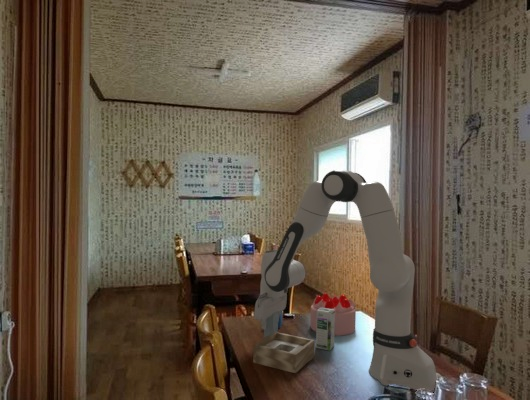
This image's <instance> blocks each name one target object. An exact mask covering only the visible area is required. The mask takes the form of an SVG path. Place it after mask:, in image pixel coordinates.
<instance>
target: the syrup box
mask: <svg viewBox="0 0 530 400" xmlns="http://www.w3.org/2000/svg"><path fill="white" fill-rule="evenodd" d="M334 330H335V309H328V308H319V309H318V310H317V323H316V332H315V333H316V334H315V338H316V339H315V349H320V350H326V351H328V352H329V351H331V350H332V349H333V348H334V347H335V336H334Z"/></svg>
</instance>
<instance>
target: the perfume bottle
mask: <svg viewBox="0 0 530 400" xmlns="http://www.w3.org/2000/svg"><path fill="white" fill-rule="evenodd" d="M283 312H284V310H282V311H281V313H280V316H279V322H278V329H280V328H281V327H282V325H283V317H284V316H283V315H284V314H283Z"/></svg>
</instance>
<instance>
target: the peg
mask: <svg viewBox="0 0 530 400" xmlns="http://www.w3.org/2000/svg"><path fill="white" fill-rule="evenodd" d="M266 324H267V329H265V330H264V329H263V339H264V338H266V337H268V336H269V335H271V334H273V333H274V332H278V333H279V328H278V312H275V313H273V314H272V316H270V317H268V318H267V320H266Z"/></svg>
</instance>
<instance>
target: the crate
mask: <svg viewBox="0 0 530 400" xmlns="http://www.w3.org/2000/svg"><path fill="white" fill-rule="evenodd" d="M315 345H316V339H311V338H307V337H301V336H297V335H292V334H288V333H283V332H279V331H278V332H274V333H273V334H271V335H269V336H268V337H266V338H264V337H263V339H261V340H260V341H258V342H255V344H253V350H252V351H253V353H252V355H253V356H252V359H253V361H252V362H253V363H254V364H258V365H260V366H261V365H262V366H265V367H270V368H273V369H278V370H281V371H284V372H289V373H293V374H297V373H298V372H299V371H300V370H301V369H302V368H303V367H305V365H306V364H308V363H309V362H310V361H311V360H312V359H313V358H315Z"/></svg>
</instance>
